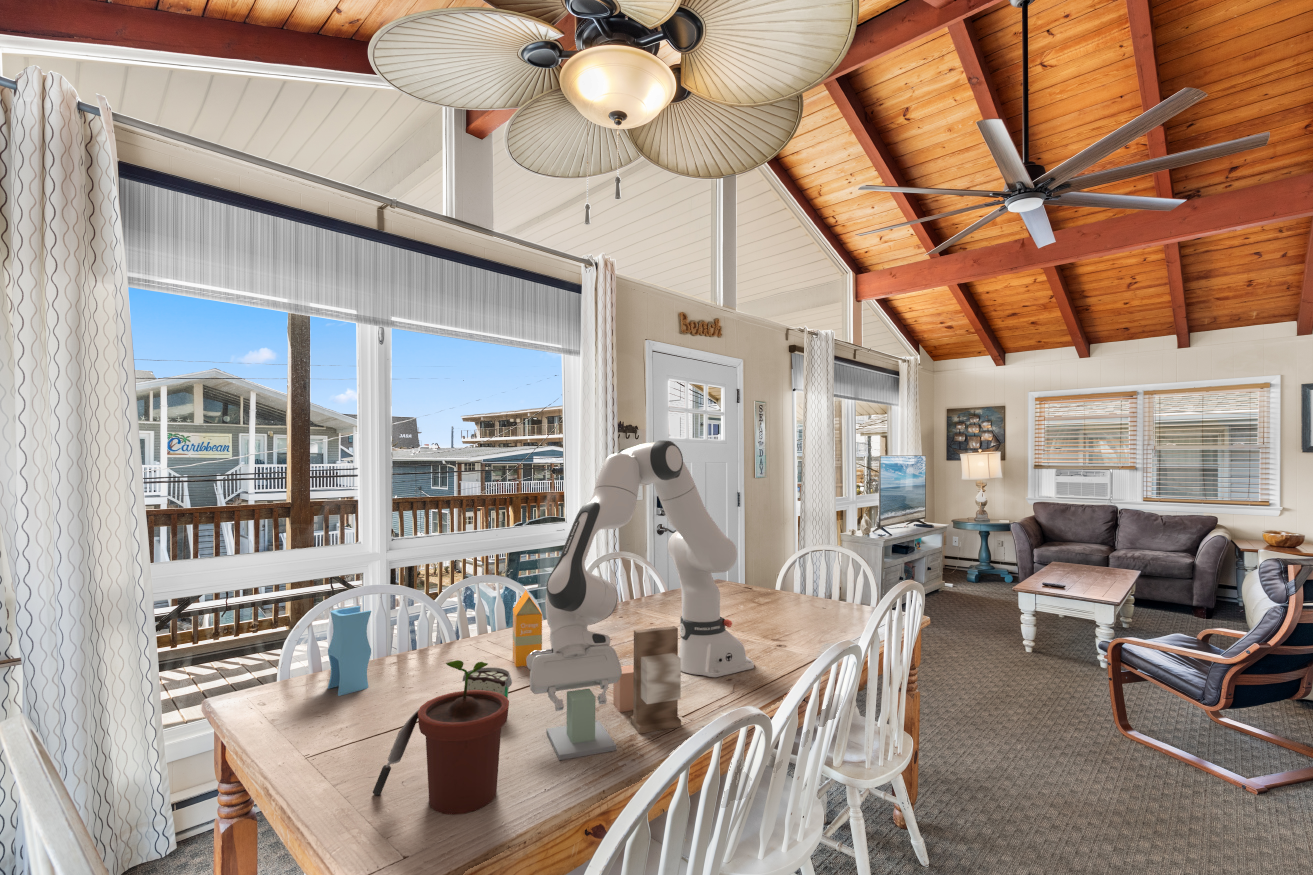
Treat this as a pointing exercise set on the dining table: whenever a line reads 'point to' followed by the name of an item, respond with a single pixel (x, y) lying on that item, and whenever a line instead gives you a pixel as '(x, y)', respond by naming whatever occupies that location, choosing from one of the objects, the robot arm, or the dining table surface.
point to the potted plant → (457, 746)
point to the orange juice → (526, 629)
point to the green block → (580, 715)
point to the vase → (349, 650)
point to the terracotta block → (624, 689)
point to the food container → (489, 680)
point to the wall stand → (656, 679)
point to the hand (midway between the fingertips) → (581, 706)
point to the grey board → (574, 750)
